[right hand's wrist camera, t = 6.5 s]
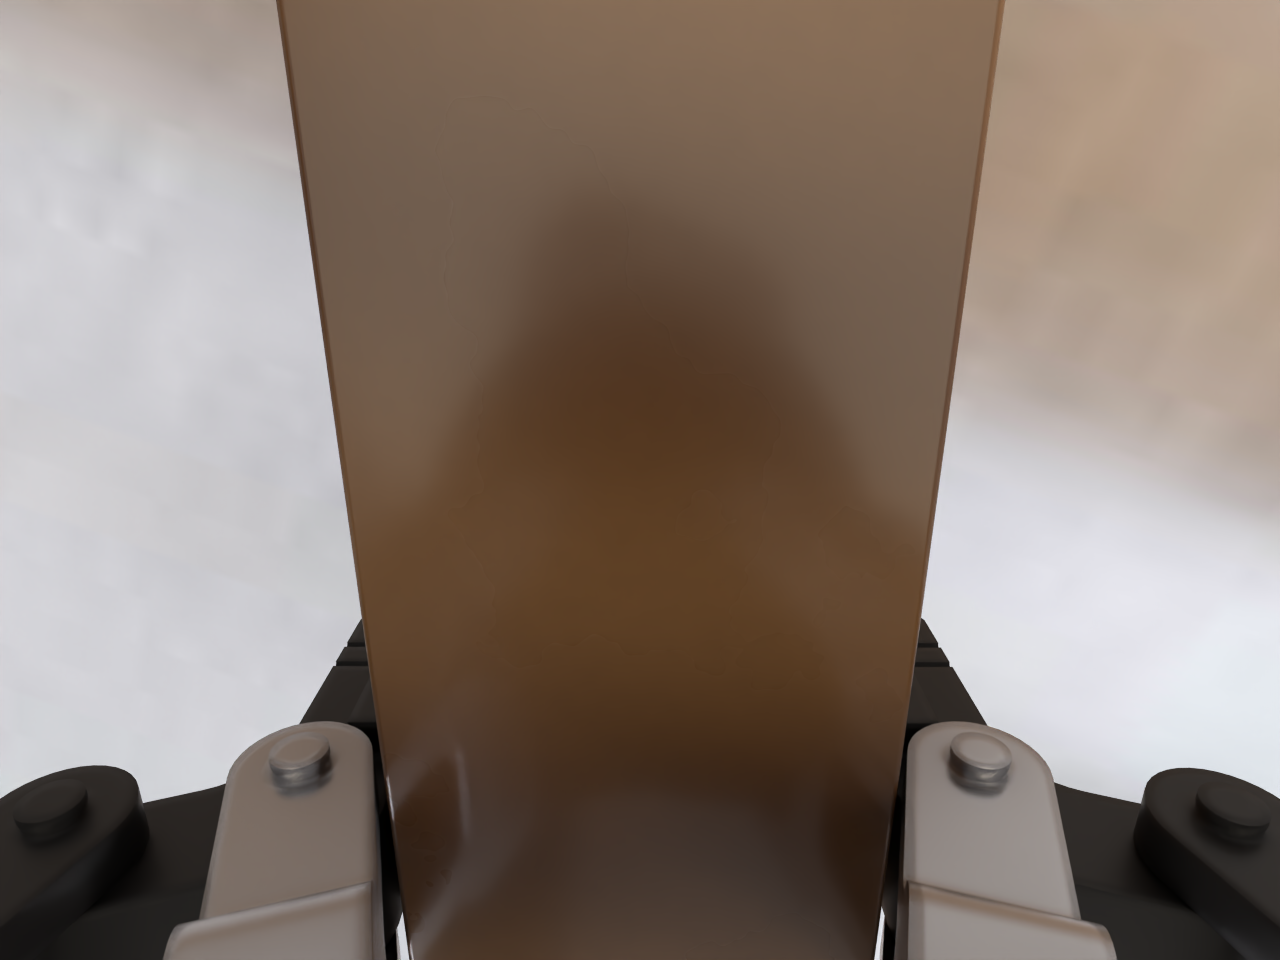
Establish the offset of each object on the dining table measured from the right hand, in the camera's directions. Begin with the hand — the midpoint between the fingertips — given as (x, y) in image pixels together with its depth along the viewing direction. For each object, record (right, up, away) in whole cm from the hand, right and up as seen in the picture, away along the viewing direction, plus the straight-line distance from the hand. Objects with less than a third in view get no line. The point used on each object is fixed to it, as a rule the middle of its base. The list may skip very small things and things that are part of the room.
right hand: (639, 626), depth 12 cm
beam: (0, +22, -5) cm, 22 cm away
